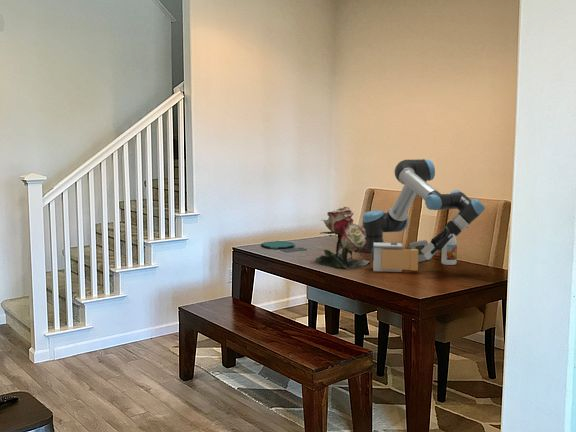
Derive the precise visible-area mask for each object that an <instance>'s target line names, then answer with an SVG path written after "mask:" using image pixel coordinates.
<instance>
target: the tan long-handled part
mask: <svg viewBox="0 0 576 432" xmlns="http://www.w3.org/2000/svg"><path fill="white" fill-rule="evenodd" d="M382 269H396V270H402V271H419V263H418V249H411V250H409V248H408V249H405V248H403V249H382Z"/></svg>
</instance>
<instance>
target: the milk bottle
mask: <svg viewBox="0 0 576 432" xmlns="http://www.w3.org/2000/svg"><path fill="white" fill-rule="evenodd" d="M445 229H448V228H447V227H446V226H445ZM452 235H453V237H452V238H451V239H450V240H449V241H448V242H447V243H446V244H445V246H444V247H443V248H442V249H441V261H440V263H441V265H446V266H450V265H451V266H455V265H457V259H458V258H457V257H458V255H457V254H458V253H457V252H458V241H457V236H455V235H454V234H452Z"/></svg>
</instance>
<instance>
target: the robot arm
mask: <svg viewBox="0 0 576 432" xmlns="http://www.w3.org/2000/svg"><path fill="white" fill-rule="evenodd" d="M435 169H436V166H435V165H434V163H433V162H432V160H430V159H425V158H423V159H419V158H418V159H403V160H400V161H399V162H398V163H397V164H396V165H395V168H394V176H395V179H396V180H397V181H398V182H399V183H400V184H402V185H403V187H402V188H401V190H400V192H399V195H398V197H397V198H396V201H395V202H394V204H393V206H391V207H390V208H388V211H387V212H384V211H383V210H370V211H366V212H364V214H363V219H362V226H363V228H364V229H365V230H366V231H365V232H366V238H365V239H366V242H367V244H365V245H364V248H365V247H366V248H365V249H367V252H366V253H371V251H372V249H373V246H374V243H385V242H384V238H383V237H384V235H383V233H399V232H403V231H405V230H406V229H407V227H408V225H409V217H408V211H409V210H410V208H411V206H412V204H413V202H414V200H415V198H416V196H419V197H420V198H421V199H422V200H423V201H424V204H425V206H426V208H427V209H428V210H431V211H432V210H433V211H439V210H458V213H456V214H455V215H454V216H453V217H452V218H451V220H449V221H448V222H447V223H446V224H445V228H444V229H443V230H442V231H440V232H439V233H437V235H436V236H434V237H432V238H431V240H430V242H428V245H426V246H425V247H424V248H423V249H422V250H421V251H422V252H423V253H424V254H425V255H424V256H425V257H426V258H427V259H428V261H430V260H431V259H432V258H431V257H433V256H434V255H435V254H437V252H439V251H442V248H443V247H444V246H445V244H446V243H447V242H448V241H449V240H450V239H451V238H452V237H453V235H452V234H454V235H455V237H457V236H458V235H459V234H460V233H462V231H463V230H465V229H466V228H469V225H470V224H472V222H473V221H474V220H476V219H477V218H478V217H480V215H482V213H484V211H485V210H486V207H485V205H484V203H482V202H481V201H480V200H479V199H477V198H475V197H474V198H473V199H470V197H468V196H467V195H466V194H465V193H464V192H462V191H461V190H459V189H454V190H453V191H451V192H450V193H441V192H439V191H438V190H437V189H436V188H434V187H432V186H431V185H430V184H429V183H428V182H430V181H432V180H434V178H435V176H436V170H435ZM446 227H447V228H448V229H446ZM429 250H430V251H429ZM430 258H431V259H430ZM429 259H430V260H429Z"/></svg>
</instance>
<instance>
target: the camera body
mask: <svg viewBox="0 0 576 432" xmlns="http://www.w3.org/2000/svg"><path fill="white" fill-rule="evenodd" d="M382 249H404V247H403V244H402V242H397V241H391V242H384V243H374V246H373V249H372V251H371V254H370V256H371V258H370V262H372V271H373V272H386V273H387V272H388V273H389V272H393V273H402V272H403V270H396V269H382Z"/></svg>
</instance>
